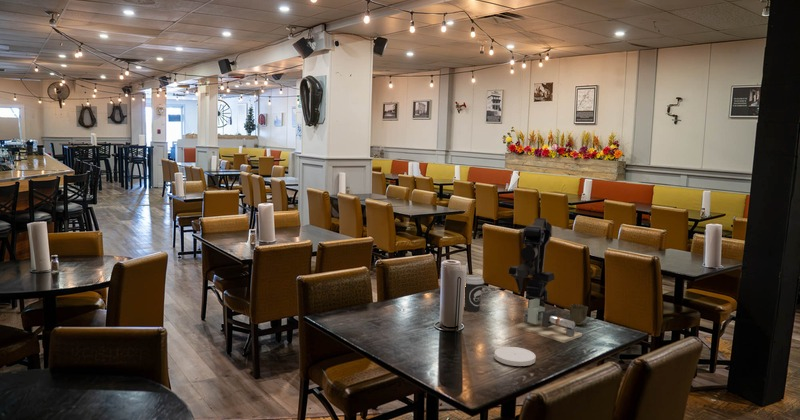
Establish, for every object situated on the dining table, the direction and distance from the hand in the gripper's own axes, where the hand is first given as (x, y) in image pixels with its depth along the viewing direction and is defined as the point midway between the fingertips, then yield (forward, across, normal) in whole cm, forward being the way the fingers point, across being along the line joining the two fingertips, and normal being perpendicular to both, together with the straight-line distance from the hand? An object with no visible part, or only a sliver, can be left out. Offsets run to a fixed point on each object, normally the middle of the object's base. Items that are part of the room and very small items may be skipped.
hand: (529, 293), depth 238 cm
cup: (+13, +14, +16) cm, 25 cm away
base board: (+13, +10, -2) cm, 17 cm away
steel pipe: (+13, +10, -2) cm, 17 cm away
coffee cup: (+13, -28, -1) cm, 31 cm away
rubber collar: (+11, +10, -2) cm, 15 cm away
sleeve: (+11, +4, -1) cm, 12 cm away
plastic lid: (+14, +18, -39) cm, 45 cm away
